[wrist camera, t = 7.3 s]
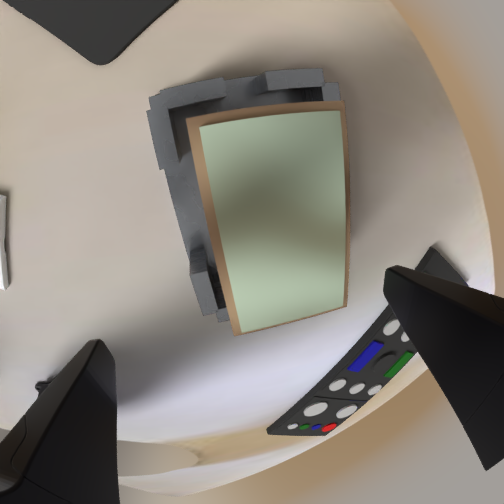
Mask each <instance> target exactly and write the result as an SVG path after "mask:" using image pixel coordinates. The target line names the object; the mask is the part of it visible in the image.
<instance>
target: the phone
mask: <svg viewBox="0 0 504 504" xmlns="http://www.w3.org/2000/svg"><path fill="white" fill-rule="evenodd" d="M3 1H4V2H6V3H8V4H9V6H11V7H14V8H15V9H16V10H17V11H19V12H20V13H23V15H25V16H26V17H27V18H29V19H32V20H33V21H35V22H36V23H38V24H39V25H40V26H42V27H43V28H45V29H46V30H48V31H49V32H50V33H52V34H53V35H55V36H56V37H57V38H59V39H60V40H62V41H63V42H64V43H66V44H67V45H68V46H70V47H71V48H72V49H74V50H75V51H76V52H78V53H79V54H80V55H82V56H83V57H84V58H86V59H87V60H89V61H90V62H92V63H94V64H96V65H106V64H108V63H110V62H112V61H113V60H114V59H116V58H117V57H118V56H119V55H120V54H121V53H122V52H123V50H124V49H125V48H126V47H127V46H128V45H129V44H130V43H131V42H132V41H133V40H134V39H135V38H136V37H137V36H138V35H139V34H141V33H142V32H143V31H144V30H145V29H146V28H147V27H148V26H149V25H150V24H151V23H152V22H153V21H155V20H156V19H157V18H158V17H159V16H160V15H161V14H163V13H164V12H165V11H166V10H167V9H169V8H170V7H171V6H172V5H173V4H174V3H176V1H177V0H3Z"/></svg>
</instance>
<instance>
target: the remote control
mask: <svg viewBox="0 0 504 504" xmlns="http://www.w3.org/2000/svg"><path fill="white" fill-rule="evenodd" d="M415 270H416V271H419V272H422V273H426V274H429V275H432V276H436V277H439V278H442V279H445V280H448V281H452V282H455V283H458V284H461V285H464V286H467V287H468V284H467V283H466V282H465V281H464V280H463V279H462V278H461V276H460V275H459V274H458V273H457V272H456V271H455V270H454V269H453V268H452V267H451V265H450V264H449V263H448V262H447V261H446V260H445V259H444V258H443V257H442V256H441V255H440V254H439V253H438V252H437V251H436V250H435V249H433V248H432V247H431V246H430V248H429V249H428V251H427V252H426V254H425V255H424V257H423V258H422V260H421V261H420V263H419V264H418V266H417V267H416V268H415ZM417 352H418V351H417V350H416V348H415V347H414V345H413V344H412V342H411V341H410V339H409V338H408V336H407V335H406V333H405V332H404V330H403V328H402V326H401V325H400V323H399V321H398V319H397V317H396V316H395V314H394V312H393V310H392V308H391V307H390V305H388V306H387V307H386V308H385V310H384V311H383V312H382V313H381V315H380V316H379V317H378V318H377V319H376V321H375V322H374V323H373V324H372V325H371V327H370V328H369V329H368V330H367V331H366V332H365V334H364V335H363V336H362V337H361V338H360V339H359V340H358V342H357V343H356V344H355V345H354V346H353V347H352V348H351V349H350V350H349V351H348V353H347V354H346V355H345V356H344V357H343V358H342V359H341V360H340V361H339V362H338V363H337V364H336V365H335V366H334V367H333V368H332V369H331V370H330V371H329V372H328V373H327V374H326V375H325V376H324V377H323V378H322V379H321V380H320V381H319V382H318V383H317V384H316V385H315V386H314V387H313V388H312V389H311V390H310V391H309V392H308V393H307V394H306V395H305V396H304V397H303V398H301V399H300V400H299V401H298V402H297V403H296V404H295V405H294V406H293V407H291V408H290V409H289V410H288V411H287V412H286V413H285V414H284V415H282V416H281V417H280V418H279V419H278V420H276V421H275V422H274V423H273V424H272V425H271V426H269V427H268V428H267V429H266V430H267V433H268V434H269V435H290V436H325V435H327V434H328V433H329V432H331V431H332V430H334V429H335V428H336V427H337V426H339V425H340V424H341V423H343V422H344V421H345V420H346V419H348V418H349V417H350V416H351V415H352V414H354V413H355V412H356V411H357V410H358V409H359V408H361V407H362V406H363V405H364V404H365V403H366V402H368V400H370V399H371V398H372V397H373V396H374V395H375V394H376V393H377V392H378V391H379V390H380V389H382V388H383V387H384V386H385V385H386V384H387V383H388V382H389V381H390V380H391V379H392V378H393V377H394V376H395V375H396V374H397V373H398V372H399V371H400V370H401V369H402V368H403V367H404V366H405V365H406V364H407V363H408V361H409V360H410V359H411V358H412V357H413V356H414V355H415V354H416V353H417Z"/></svg>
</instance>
